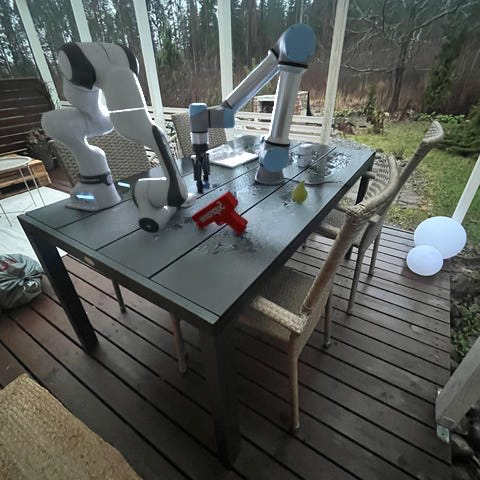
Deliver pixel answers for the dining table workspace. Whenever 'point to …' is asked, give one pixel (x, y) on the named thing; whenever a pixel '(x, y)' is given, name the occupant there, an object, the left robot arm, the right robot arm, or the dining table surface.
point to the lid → (205, 184)
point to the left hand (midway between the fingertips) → (176, 191)
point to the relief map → (229, 156)
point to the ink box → (304, 154)
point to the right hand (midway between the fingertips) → (203, 190)
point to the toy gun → (221, 214)
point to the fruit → (300, 192)
